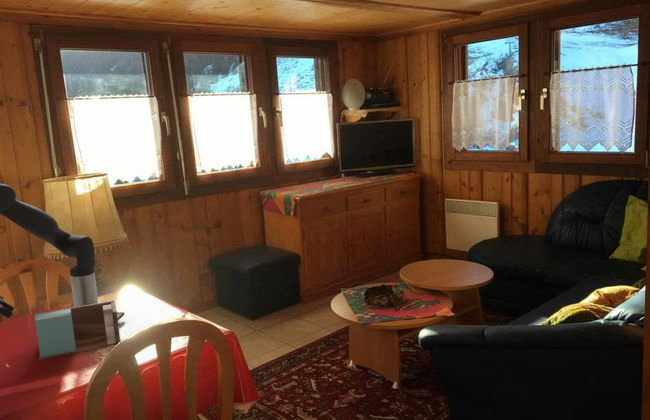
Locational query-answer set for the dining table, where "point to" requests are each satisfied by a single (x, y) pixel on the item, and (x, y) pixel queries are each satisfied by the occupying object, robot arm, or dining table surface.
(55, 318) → the rectangular block
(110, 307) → the open wooden box
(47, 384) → the dining table surface
